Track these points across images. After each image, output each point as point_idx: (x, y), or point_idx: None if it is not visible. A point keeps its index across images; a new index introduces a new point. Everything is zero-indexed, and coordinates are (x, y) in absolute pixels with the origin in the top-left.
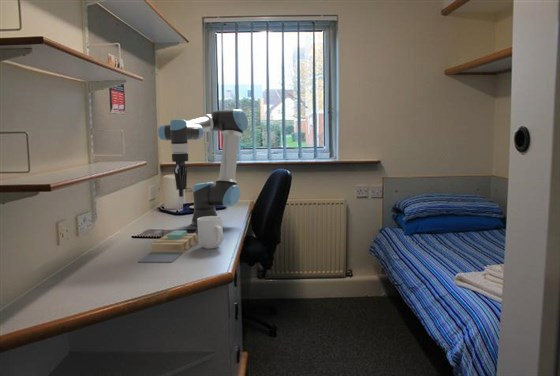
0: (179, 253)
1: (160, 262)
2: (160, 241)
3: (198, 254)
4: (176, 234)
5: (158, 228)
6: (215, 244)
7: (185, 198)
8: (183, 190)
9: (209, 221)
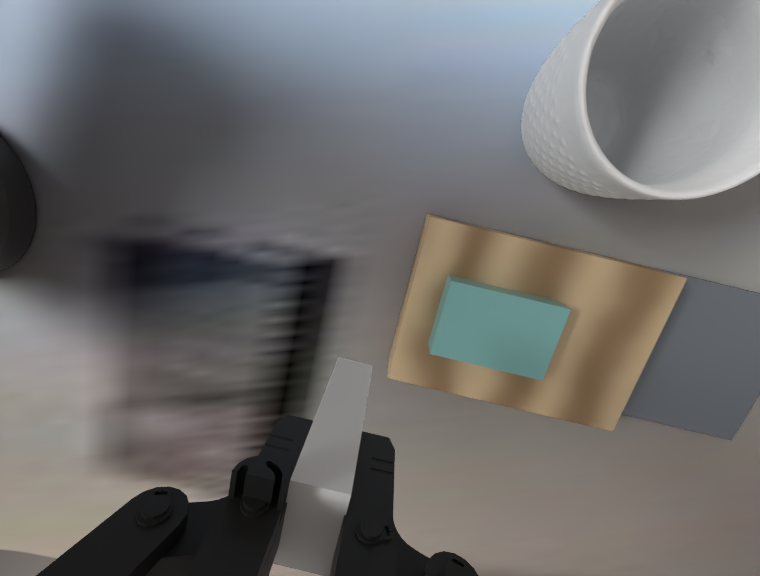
0: None
1: None
2: (572, 395)
3: None
4: (550, 330)
5: (85, 429)
6: (640, 87)
7: (329, 383)
8: (353, 489)
9: None
